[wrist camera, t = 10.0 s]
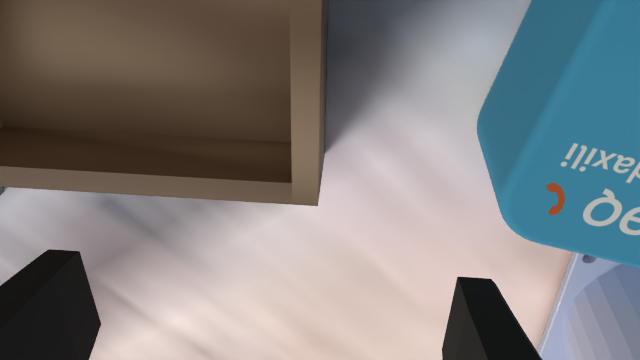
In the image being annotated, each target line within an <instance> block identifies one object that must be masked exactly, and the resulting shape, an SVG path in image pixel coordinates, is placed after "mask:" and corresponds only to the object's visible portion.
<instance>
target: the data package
mask: <svg viewBox="0 0 640 360" xmlns="http://www.w3.org/2000/svg"><path fill="white" fill-rule="evenodd" d="M477 134H478V138H479V142H480V145H481V149H482V152H483V155H484V159H485V162H486V165H487V169H488V172H489V175H490V179H491V182H492V185H493V189H494V192H495V195H496V199H497V202H498V205H499V209H500V212H501V214H502V217H503V219H504V220H505V222H506V223H507V225H508V226H509V227H510V228H511V229H512V230H513V231H514V232H516V233H517V234H518V235H520V236H522V237H523V238H525V239H528V240H530V241H533V242H536V243H540V244H544V245H548V246H552V247H556V248H560V249H564V250H568V251H572V252H576V253H581V254H585V255H589V256H593V257H597V258H601V259H605V260H609V261H613V262H617V263H621V264H625V265H629V266H633V267H637V268H640V0H532V1H531V3H530V5H529V8H528V10H527V12H526V14H525V16H524V18H523V20H522V23H521V25H520V27H519V29H518V31H517V33H516V35H515V38H514V40H513V42H512V44H511V46H510V48H509V51H508V53H507V55H506V57H505V59H504V61H503V63H502V66H501V68H500V70H499V72H498V74H497V76H496V78H495V81H494V83H493V85H492V87H491V89H490V91H489V93H488V96H487V98H486V100H485V102H484V104H483V106H482V109H481V111H480V114H479V117H478V121H477Z"/></svg>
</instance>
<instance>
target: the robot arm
mask: <svg viewBox="0 0 640 360" xmlns="http://www.w3.org/2000/svg"><path fill="white" fill-rule="evenodd" d="M584 255H585V254H581V253H576V252H573V253H572V256H571V259H570V261H569V264H568V267H567V270H566V272H565V275H564V278H563V281H562V283H561V286H560V289H559V292H558V295H557V297H556V300H555V303H554V306H553V308H552V311H551V314H550V317H549V319H548V322H547V325H546V328H545V330H544V333H543V336H542V339H541V341H540V344H539V347H538V350H537V351H536V349H535V348H534V346H533V345H532V343H531V342H530V340H529V339H528V337H527V335H526V334H525V332H524V331H523V329H522V327H521V326H520V324H519V323H518V321H517V319H516V318H515V316H514V314H513V313H512V311H511V310H510V308H509V306H508V304H507V303H506V301H505V299H504V298H503V296H502V294H501V292H500V291H499V289H498V287H497V285H496V284H495V283H494V282H493V281H492V279H484V278H469V277H458V278H457V282H456V287H455V291H454V296H453V301H452V305H451V310H450V315H449V319H448V324H447V329H446V333H445V338H444V343H443V347H442V356H443V360H640V268H637V267H633V266H629V265H625V264H621V263H617V262H613V261H609V260H605V259H601V258H597V257H593V256H584ZM100 326H101V322H100V319H99V316H98V312H97V309H96V305H95V302H94V299H93V295H92V292H91V289H90V285H89V282H88V279H87V275H86V272H85V269H84V265H83V262H82V259H81V255H80V252H79V251H65V250H50V249H49V250H47V251H46V252H44V253H43V254H42V255H40V256H39V257H38V258H36V259H35V260H34V261H32V262H31V263H30V264H28V265H27V266H26V267H24V268H23V269H22V270H20V271H19V272H18V273H17V274H15V275H14V276H13V277H11V278H10V279H9V280H8V281H6V282H5V283H4V284H2V285H1V286H0V360H89V357H90V355H91V352H92V349H93V346H94V343H95V340H96V337H97V334H98V331H99V328H100Z"/></svg>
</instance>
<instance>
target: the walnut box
mask: <svg viewBox="0 0 640 360" xmlns="http://www.w3.org/2000/svg"><path fill="white" fill-rule="evenodd" d="M328 2H329V0H0V187H15V188H32V189H48V190H64V191H81V192H97V193H114V194H130V195H146V196H163V197H179V198H196V199H212V200H228V201H245V202H261V203H277V204H294V205H310V206H318V200H319V192H320V185H321V177H322V170H323V162H324V155H325V116H326V78H327V40H328Z"/></svg>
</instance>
